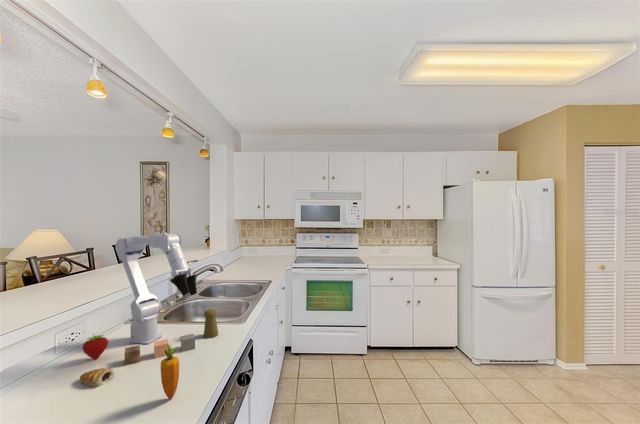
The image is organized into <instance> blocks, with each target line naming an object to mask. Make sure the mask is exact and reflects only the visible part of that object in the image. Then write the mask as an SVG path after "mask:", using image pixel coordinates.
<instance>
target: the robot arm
mask: <svg viewBox="0 0 640 424" xmlns="http://www.w3.org/2000/svg"><path fill="white" fill-rule="evenodd" d="M181 238H182V237H181V236H180V234H178V233H175V232H174V233H168V232H162V233H161V232H157V231H155V232H154V233H152V234H151V235H149V236H148V235H137V236H129V237H124V238H119V239H117V240H116V243H115V248H114V249H115V252H116V254H117V256H118V259H119V261H121V263H122V265H123V268H124V270H125V273H126V276H127V278H128V283H129V284H130V287H131V289H132V293H133V296H134V297H135V298H134V300H133V301H132V302H131V304H130V310H131V312H130V313H131V317H132V318H133V320H132V322H131V323H130V328H129V329H130V340H129V341H128V343H134V344H135V343H136V344H143V345H148V344H151V343H152V342H155V341H157V340H158V339H160V338H162V337H163V335H162V334H158V317H159V314H160V313H161V312H162V307H163V306H162V303H161V301H160V300H159V299H158V296H157V295H156V294H153V293H150V292H149V289H148V286H147V284H146V281H145V279H144V276H143V273H142V269H141V267H140V265H139V263H138V259H139V258H142V255H143V253H144V251H145V249H146V247H147V245H148V246H149V247H150V248H153V249H160V250H162V252H163V254H165V256H166V258H167V261H168V264H169V266H170V268H171V272H170V275H171V278H170V279H169V281H170V283H171V284H173V285H174V286H175V287H176V288H177V289H178V291H179V292H180V294H181V295H182V296H187V295H188V294H189V295H190V296H195V295H196V294H197V293H198V291H197V274H193V272H192V271H193V269H194V268H193V267H189V264H188V262H187V260H186V257H185V255H184V253H183V249H182V247H181V244H182V239H181Z"/></svg>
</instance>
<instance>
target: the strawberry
mask: <svg viewBox="0 0 640 424" xmlns="http://www.w3.org/2000/svg"><path fill="white" fill-rule="evenodd" d="M104 336H105V335H103V334H102V335H95V333H93V335H92V337H88V338H87V340H86V341H85V342H84V343H83V344H82V350H83V353H84V354H86V356H88V357H89V358H91V359H92V360H98V359H99V358H100V356H101V355H103V354H104V351H105V350H106V349H107V347H108V344H109V340H108V338H106V337H104Z"/></svg>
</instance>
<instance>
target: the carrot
mask: <svg viewBox="0 0 640 424" xmlns="http://www.w3.org/2000/svg"><path fill="white" fill-rule="evenodd" d="M179 347H180V346H179V345H178V346H175V347H174V349H173V347H172V345H171V344H169V345H168V351H167V348H166V349H165V350H164V351H165V354H166V356H165V358H164V359H162V360H161V361H160V380H161V384H162V389H163V392H164V393H165V396H166V397H167V398H168V399H169V400H172V398H173V397H174V396H175V394H176V391H177V389H178V384H179V380H180V379H179V378H180V376H179V375H180V359H179V357H178V356H175V355H174V353H175V352H176V351H177V350H178V349H179Z"/></svg>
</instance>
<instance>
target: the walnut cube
mask: <svg viewBox="0 0 640 424" xmlns="http://www.w3.org/2000/svg"><path fill="white" fill-rule="evenodd" d="M139 363H141V345H140V344H138V345H134V346H130V347H128V346H127V347H125V348H124V366H126V367H127V366H130V365H134V364H139Z"/></svg>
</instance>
